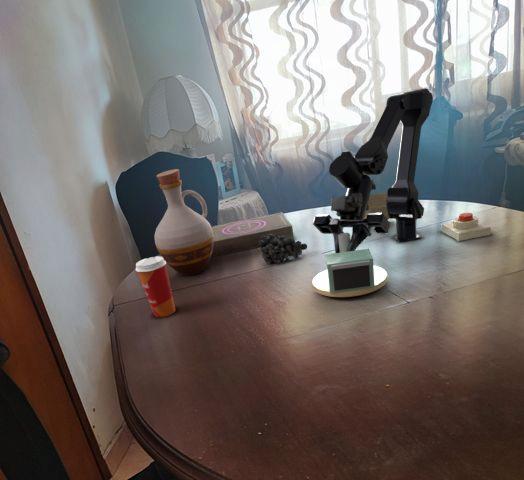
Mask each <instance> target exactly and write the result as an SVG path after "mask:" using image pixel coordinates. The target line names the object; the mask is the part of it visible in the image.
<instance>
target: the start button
mask: <svg viewBox="0 0 524 480" xmlns="http://www.w3.org/2000/svg"><path fill="white" fill-rule="evenodd" d="M473 216H474V214H473V213H472V212H462V213H460V214H458V217H459V221H462V222H466V221H471V220H473Z"/></svg>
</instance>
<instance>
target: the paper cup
mask: <svg viewBox="0 0 524 480" xmlns="http://www.w3.org/2000/svg"><path fill="white" fill-rule="evenodd" d="M135 272H137V274H138V277H139V279H140V282H141V285H142V288H143V291H144V293H145V296H146V298H147V300H148V304H149V306H150V309H151V310H152V313H153V315H154V317H156V318H165V317H168V316H170V315H172V314H174V313H175V312H176V306H175V302H174V301H175V300H174V297H173V296H174V295H173V291H172V288H171V283H170V278H169V273H168V269H167V263H166V261H165V260H164V259H163V257H162V256H161V255H157V256H151V257H148V258H143V259H141V260H138V261H137V262H136V263H135Z"/></svg>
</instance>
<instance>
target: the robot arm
mask: <svg viewBox="0 0 524 480" xmlns="http://www.w3.org/2000/svg"><path fill="white" fill-rule="evenodd" d="M433 102H434V95H433V94H432V92H430V89H428V88H427V87H426V88H425V87H424V88H418V89H413V90H405V91H404V92H402V93H398V94H392V95H390V96H389V97H387V99H386V104H385V107H384V110H383V111H382V114H381V115H380V118H379V120H378V121H377V123H376V126H375V128H374V130H373V132H372V134H371V136H370V137H369V140H367V141H366V142H365V143H363V144H362V145H361V146H360V147H359V149H358V150H357V151H356V153H355V155H353V154H352V152H351V151H350V150H343V151H341V154H340V155H339V156H337V157H335V158H334V160H333V161H332V162H330V165H329V167H328V171H329V174H330V176H332V177H333V178H334V179H335V181H336V182H337V183H338V184H339V185H340V186H341V187H342V188H343V189H347V190H346V193H345V195H341V196H331V204H330V205H331V206H330V211H331V212H336V214H335V215H336V216H337V218H333V217H332V216H331V214H316V215H315V216H314V218H313V221H312V225H313V226H314V227H315V228H316V229H317V231H319V233H321V234H323V235H332V237H333V243H334V253H340V250H339V239H338V235H339V234H341V233H345V232H344V229H345V228H352V229H351V232H352V233H351V235H350V243H349V246H348V251H355V250H357V248H358V247H359V246H360V245H361V244H362V243H363V242H364V241H365V240H366V239H367V238H368V237H371V236H372V232H371V231H372V229H373V228H374V229H373V230H374V232H375V233H376V234H377V235H378V234H380V235H382V234H383V235H385V234H386V235H387V234H389V232H390V227H391V223H390V221H389V219H390V220H391V219H393V220H394V219H395V233H396V234H393V235H392V238H393V239H394V240H396V241H397V242H399V243H403V242H404V243H405V242H408V241H413V240H419V239H421V238H422V236H421V235H420V234H418V233H417V220H420V219H422V218H423V216H424V212H425V208H424V206H423V204H422V203H421V201H420V200H419V190H418V188H417V186H416V184H415V179H416V178H415V176H416V170H417V163H418V162H417V161H418V155H419V146H420V141H421V133H422V127H423V125H424V124H425V122H426V121H427V119H428V118H429V116H430V113H431V108H432V105H433ZM400 123H401V125H402V128H401V129H402V130H401V137H400V138H401V139H400V146H399V155H398V163H397V170H396V177H395V178H396V179H395V182H394V184H393V185H392V186H389V187H388V188H387V191H386V192H387V200H386V208H387V212H388V215H389V219H388V220H387V218H386V217H385V215H384V214H383V213H369V214H368V215H367V218H366V219H364V215H365V211H368V209H369V206H368V205H367V203H368V200H369V196H370V194H371V191H375V190H376V189H377V187H376V184H375V182H374V179H373V178H371V177H370V176H378V175H381V174H383V172H384V171H385V167H386V165H387V162H388V158H389V154H388V148H389V145H390V143H391V141H392V139H393V137H394V135H395V132H396V131H397V129H398V126H399V125H400ZM338 217H340V218H338ZM348 251H347V252H348Z"/></svg>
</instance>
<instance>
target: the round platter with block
mask: <svg viewBox="0 0 524 480" xmlns="http://www.w3.org/2000/svg"><path fill="white" fill-rule="evenodd" d="M338 239H339V250H340V253H335V252H334V253H330V254H325V260H326V269H325V270H323V271H320V272H319V273H318V274H316V275H315V276H314V277H313V279H312V281H311V283H312V289H313V290H314V291H315V293H317V294H319V295H322V296H325V297H331V298H351V297H358V296H363V295H366V294H370V293H373V292H375V291H377V290H379V289H381V288H383V287H384V286H385V285H386V283H387V282H388V272H387V271H386V269H385V268H383V267H380V266H378V265H374V258H373V255H372V252H371V250H370V248H363V249H355V251H348V246H349V243H350V240H351V234H350V233H349V232H344V233H341V234H339V235H338ZM347 251H348V252H347Z"/></svg>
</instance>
